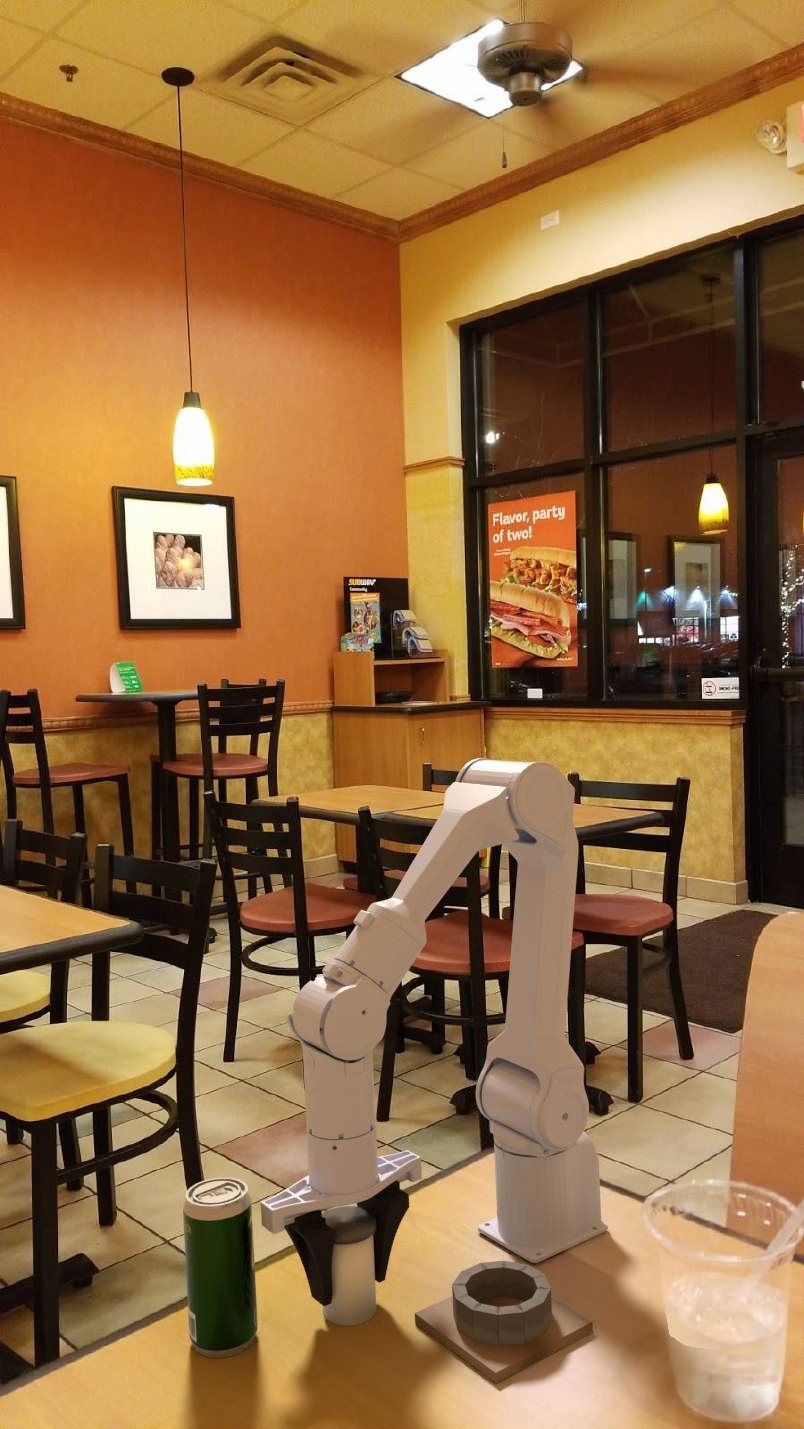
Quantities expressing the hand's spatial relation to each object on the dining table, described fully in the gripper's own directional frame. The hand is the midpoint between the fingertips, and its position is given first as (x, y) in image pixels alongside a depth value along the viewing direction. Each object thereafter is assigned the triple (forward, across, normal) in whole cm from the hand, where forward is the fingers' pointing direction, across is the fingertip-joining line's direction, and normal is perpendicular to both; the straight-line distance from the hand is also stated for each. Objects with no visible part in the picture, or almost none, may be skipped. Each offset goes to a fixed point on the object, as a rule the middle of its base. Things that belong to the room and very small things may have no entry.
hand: (348, 1288), depth 92 cm
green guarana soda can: (+2, +10, -3) cm, 11 cm away
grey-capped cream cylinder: (+2, 0, 0) cm, 2 cm away
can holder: (+2, -8, +10) cm, 13 cm away
